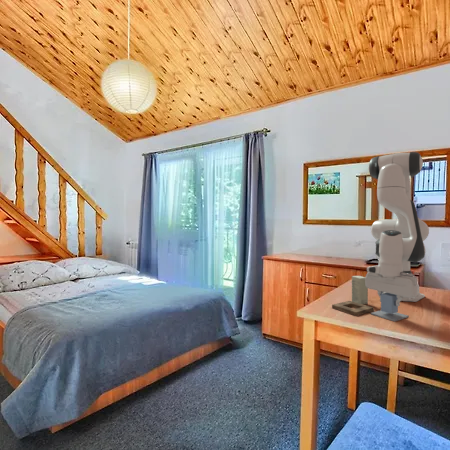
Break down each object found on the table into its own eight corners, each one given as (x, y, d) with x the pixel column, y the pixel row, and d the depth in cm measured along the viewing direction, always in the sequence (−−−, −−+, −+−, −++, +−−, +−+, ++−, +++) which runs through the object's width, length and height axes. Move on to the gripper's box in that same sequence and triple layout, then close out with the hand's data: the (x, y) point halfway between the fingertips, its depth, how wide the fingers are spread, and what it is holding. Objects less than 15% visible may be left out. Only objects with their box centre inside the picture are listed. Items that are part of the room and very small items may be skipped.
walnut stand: (349, 303, 143) (349, 300, 143) (373, 311, 133) (373, 307, 133) (332, 308, 137) (332, 304, 137) (355, 315, 127) (356, 312, 127)
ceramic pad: (384, 310, 134) (384, 309, 134) (408, 317, 125) (408, 315, 125) (370, 314, 129) (370, 312, 129) (394, 321, 120) (394, 320, 120)
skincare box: (368, 304, 143) (368, 278, 143) (360, 304, 142) (360, 278, 141) (358, 300, 149) (359, 275, 149) (350, 301, 148) (351, 275, 148)
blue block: (387, 309, 130) (387, 292, 130) (397, 311, 126) (398, 295, 126) (380, 310, 128) (381, 293, 127) (391, 313, 124) (391, 296, 124)
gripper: (421, 273, 119) (420, 309, 120) (372, 265, 137) (371, 296, 137) (412, 275, 116) (411, 312, 116) (363, 267, 133) (362, 298, 134)
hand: (389, 303), depth 127 cm, fingers closed on blue block, 4 cm apart
